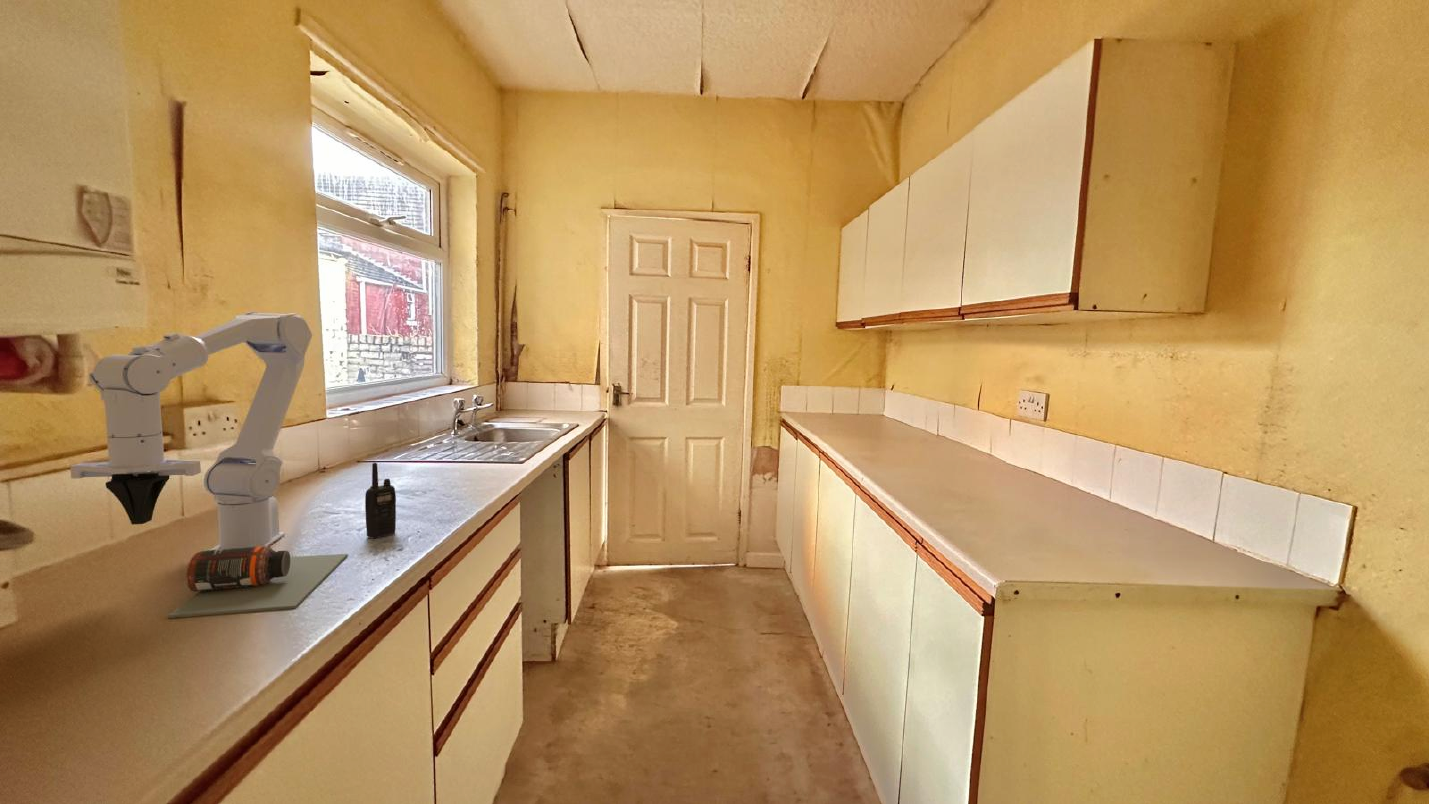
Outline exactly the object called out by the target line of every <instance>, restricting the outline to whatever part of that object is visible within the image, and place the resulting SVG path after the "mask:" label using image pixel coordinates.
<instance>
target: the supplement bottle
mask: <svg viewBox="0 0 1429 804" xmlns="http://www.w3.org/2000/svg"><path fill="white" fill-rule="evenodd" d="M290 557H291V554H290V551H288V550H286V549H285V550H276V551H275V550H274V549H273V548H272V547H271V546H259V547H246V548H234V549H222V550H211V549H210V550H201V551H198V552H196V553H195V554H194V555H193V556H192V557H191V559H190V560H189V563H188V565H187V567H186V568H187V570H186V571H187V572H186V583H187V587H188V589H189V590H190V591H192V592H194V593H200V592H202V591H211V590H221V589H230V588H241V587H250V586H259V585H264V584H266V583H268V582H269V581H270V579H272V578H274V577H276V578H278V577H284V576H286V575H287V574H288V572H289V569H290Z"/></svg>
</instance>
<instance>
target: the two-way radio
mask: <svg viewBox="0 0 1429 804" xmlns="http://www.w3.org/2000/svg"><path fill="white" fill-rule="evenodd" d="M371 466H372V467H371V472H372V473H371V486H370V487H369V488H368V489H367V490H366V491H365V497H364V498H365V500H364V505H365V507H364V509H365V510H364V511H365V524H366V525H365V527H366V537H367V538H370V539H377V538H381V537H385V536H389V535H393V534H395V533H396V528H397V527H396V524H397V523H396V522H397V521H396V519H397V513H396V511H397V510H396V509H397V508H396V507H397V504H396V503H397V499H396V498H397V497H396V496H397V495H396V494H397V493H396V489H395V487H394V485H392V484H391V480H390V478H385V479H383V483H382V485H379V474H378V471H379V470H378V463H376V462H372V465H371Z"/></svg>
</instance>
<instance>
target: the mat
mask: <svg viewBox="0 0 1429 804" xmlns="http://www.w3.org/2000/svg"><path fill="white" fill-rule="evenodd" d="M348 554H349V553H341V554H339V553H337V554H336V553H335V554H319V555H318V554H317V555H305V556H304V555H299V556H290V569H289V572H288V574H287V575H286V576H284V577H278V578H276V577H274V578H272V579H270V581H269V582H268V583H266V584H264V585H259V586H250V587H241V588H230V589H221V590H211V591H202V592H201V591H199V592H198V594H196V595H194V596H193V597H192V598H190V599H188V600H187V601H186V602H185V603H183V604H182V605H181V606H179V607H177V608H176V609H174V610H173V611H171V613H169V614H167V619H172V618H173V619H174V618H185V617H188V618H189V617H200V616H213V615H224V614H226V615H227V614H239V613H240V614H241V613H252V612H264V611H265V612H266V611H279V610H291V609H293V610H294V609H296V608H298V606H299V605H301V604H302V603H303V602H304V600H306V598H307V597H309V596H310V594H312V593H313V592H314V591H315V590H316V588H317V587H318V586H319V585H321V584H322V583H323V581H325V580H326V578H327V577H328V576H329V575H330V574H331V573H332V572H334V571H335V569H336V568H338V567H339V565H340V564H341V563H342V562H344V561H345V560H346V559H347V557H348V556H349V555H348Z"/></svg>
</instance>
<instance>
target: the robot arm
mask: <svg viewBox="0 0 1429 804" xmlns="http://www.w3.org/2000/svg"><path fill="white" fill-rule="evenodd" d="M162 338H163V339H162V340H160V341H157V342H154V343H151V344H149V345H145V346H144V345H137V346H135V347H132V349H131V351H130V352H129V353H128V354H118V353H116V354H115V353H114V354H108V355H107V356H104V357H102V358H100V360H98V362H97V363H96V364H95V365H94V367H93V371H92V372H91V373H88V377H89V381H90V383H91V384H92V385H93V387H95V388H96V389H97V390H98V391H99V392H100V399H101V400H100V401H103V403H104V415H105V425H106V427H105V429H106V437H107V438H106V440H107V451H108V461H99V462H79V463H76V464H72V465H70V466H69V468H70V469H69V470H70V478H71V479H73V480H74V479H83V478H103V477H104V478H105V477H106V478H107V477H108V478H109V477H111V478H110V481H106V482H105V487H106V489H108V491H110V493H112V494H113V496H114V497H115V498H117V500H118V501H119V502H120V504H121V506H122V507H123V509H124V510H125V513H126V515H127V516H128V520H129V522H130V524H131V525H144V524H146V523H148V522H150V521H152V520H153V515H154V510H155V506H156V504H157V501H158V499H159V496H160V494H161V492H162V490H163V488H164V487H165V486H166V484H167V483H168V481H169V479H170V476H186V477H194V476H196V475H199V474H202V469H201V460H179V459H177V460H176V459H165V453H164V451H165V450H164V438H163V437H164V435H163V424H162V423H163V422H162V421H163V420H162V410H161V409H162V408H161V407H162V405H161V392H164V391H165V390H166V389H167V387H168V386H169V385H170V383H171V381H172V380H173V379H175V378H177V377H180V376H183V375H185V374H187V373H189V372H192V371H194V370H196V369H198V368H201V367H203V366H205V365H206V364H207V362H208V360H209V356H210V355H212V354H215V353H218V352H220V351H222V350H225V349H226V350H227V349H229V348H233V347H235V346H237V345H240V344H242V343H245V344H246V345H247V346H248V348H249V349H250V350H251V351H252V352H253V353H254V354H255V355H256V356H257V357H258V359H260V360H262V361H263V363H264V364H265V366H266V367H265V369H264V371H263V375H262V377H261V379H260V381H259V384H258V386H257V390H256V392H255V394H254V397H253V399H252V402H251V404H250V406H249V410H248V412H247V413H246V417H245V420H244V422H243V424H242V427H241V430H240V432H239V434H238V437H237V439H236V441H235V443H234V444H233V445H231V446H230V447H227V448H226V449H224V450H223V451H221V452H219V453H218V456H217V458H216V460H215V461H214V463H213V464H212V465H211V466H210V467H209V468H208V469H207V471H206V473H204V478H203V485H204V488H205V490H206V491H207V492H208V493H209V494H210V495H213V501H214V502H217V517H218V521H217V522H218V534H219V535H218V536H219V537H218V539H219V544H218V545H216V546H215V547H213V548H211V549H210V550H222V549H234V548H246V547H259V546H268V547H270V546H271V545H272V544H273V543H276V541H278V540H279V539H280V538H282V537H283V536H285V535H286V532H284V531H280V517H279V516H280V515H279V514H280V511H279V503H278V500H277V499H276V497H274V493H275V492H276V491H277V490H278V488H279V486H280V483H281V469H282V466H283V460H282V459H281V458H280V457H279V456H278V454H276V453H275V452H274V448H275V445H276V443H277V440H278V436H279V434H280V432H281V429H282V426H283V423H284V421H285V418H286V415H287V413H288V410H289V408H290V405H291V402H292V399H293V397H294V393H295V392H296V388H297V386H298V383H299V381H300V378H301V376H302V372H303V370H304V366H305V356H306V353H307V350H308V348H309V346H310V342H311V340H312V338H313V333H312V331H311V329H310V327H309V324H308V323H307V321H306V319H305V318H304V317H303V316H302V315H300V314H298V313H287V314H285V313H270V312H269V313H265V312H264V313H263V312H262V313H261V312H258V311H256V312H255V311H249V312H245V313H244V314H238V315H235V316H234V318H233V319H230V320H229V321H226V322H224V323H222V324H220V325H219V324H218V326H215V327H213V328H210V329H208V330H207V331H204V332H201V333H200V334H197V335H194V336H192V335H188V334H184V333H172V332H170V333H167V334H164V335H162Z"/></svg>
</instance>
